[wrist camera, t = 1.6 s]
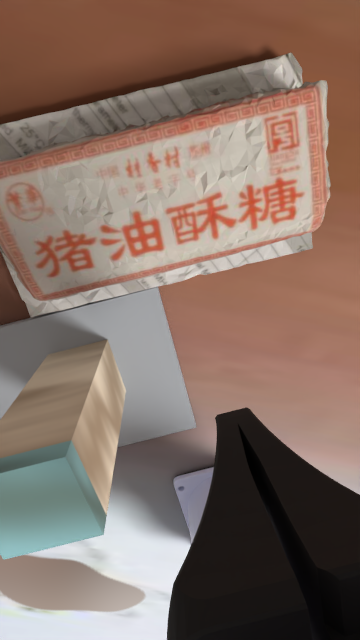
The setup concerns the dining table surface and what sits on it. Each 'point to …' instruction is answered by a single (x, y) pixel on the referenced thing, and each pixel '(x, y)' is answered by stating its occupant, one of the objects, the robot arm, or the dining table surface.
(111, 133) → the packaged product
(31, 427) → the maple block
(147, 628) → the dining table surface
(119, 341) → the grey mat
